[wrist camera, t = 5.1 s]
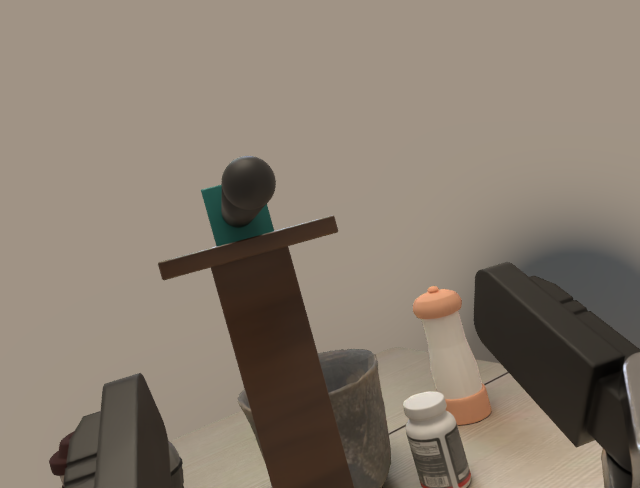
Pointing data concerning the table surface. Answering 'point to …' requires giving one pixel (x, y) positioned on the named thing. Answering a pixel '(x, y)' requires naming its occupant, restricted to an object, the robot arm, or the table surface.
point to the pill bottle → (435, 442)
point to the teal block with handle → (241, 201)
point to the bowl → (353, 413)
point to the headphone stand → (276, 353)
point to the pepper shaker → (452, 356)
